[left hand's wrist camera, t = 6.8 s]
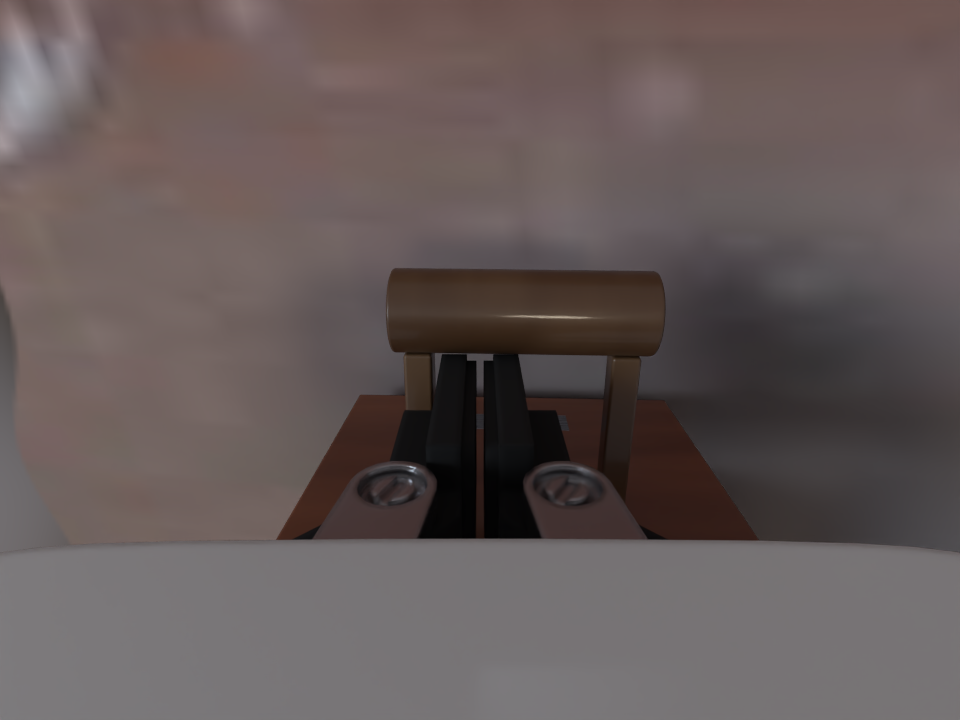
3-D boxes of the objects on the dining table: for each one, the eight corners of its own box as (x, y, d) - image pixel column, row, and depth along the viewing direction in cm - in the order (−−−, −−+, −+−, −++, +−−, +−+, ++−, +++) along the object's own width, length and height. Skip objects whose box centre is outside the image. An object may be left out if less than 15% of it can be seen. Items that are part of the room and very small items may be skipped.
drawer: (347, 230, 17) (212, 297, 9) (685, 234, 16) (860, 306, 9) (389, 791, 25) (340, 1077, 17) (611, 799, 25) (663, 1093, 17)
